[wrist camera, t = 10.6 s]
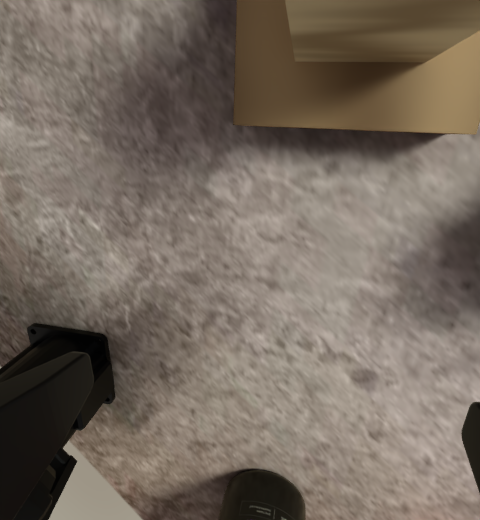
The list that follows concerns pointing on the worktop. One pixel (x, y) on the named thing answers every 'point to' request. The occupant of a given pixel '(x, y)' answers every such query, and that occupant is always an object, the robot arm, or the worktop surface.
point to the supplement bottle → (261, 498)
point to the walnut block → (348, 84)
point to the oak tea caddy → (379, 29)
